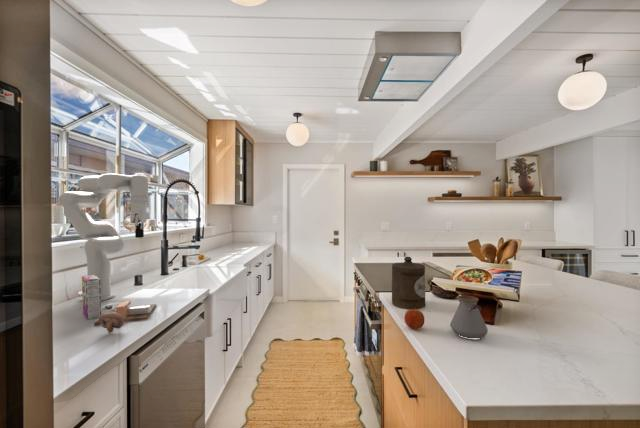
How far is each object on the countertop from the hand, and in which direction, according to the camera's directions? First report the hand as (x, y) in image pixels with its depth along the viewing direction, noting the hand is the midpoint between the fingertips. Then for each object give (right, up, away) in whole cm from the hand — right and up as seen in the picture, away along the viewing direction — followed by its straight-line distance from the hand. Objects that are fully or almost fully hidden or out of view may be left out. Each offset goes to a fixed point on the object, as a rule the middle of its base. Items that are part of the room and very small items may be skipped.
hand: (139, 237), depth 143 cm
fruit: (+123, -30, -37) cm, 132 cm away
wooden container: (+130, -30, -9) cm, 134 cm away
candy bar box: (-9, -32, -18) cm, 38 cm away
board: (+7, -32, -19) cm, 37 cm away
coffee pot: (+138, -30, -48) cm, 149 cm away
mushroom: (+13, -32, -38) cm, 51 cm away
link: (+8, -30, -22) cm, 38 cm away
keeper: (+8, -31, -23) cm, 39 cm away
